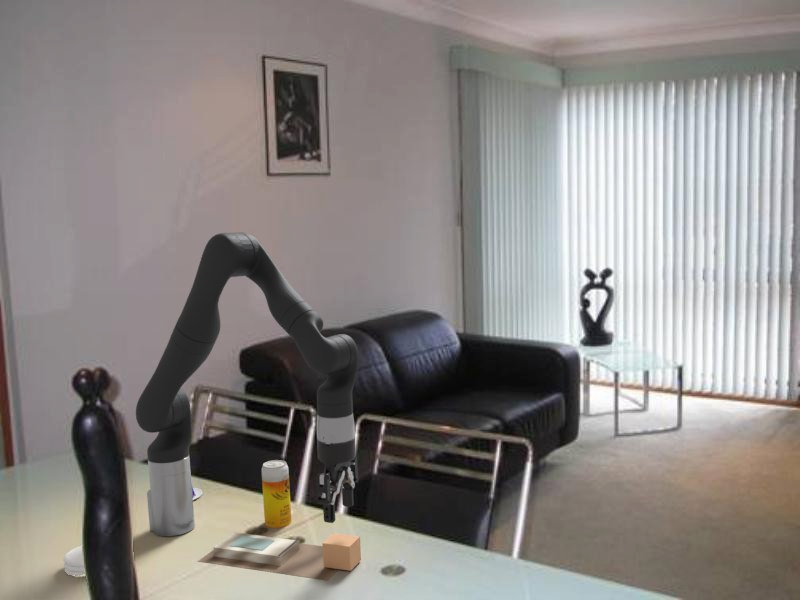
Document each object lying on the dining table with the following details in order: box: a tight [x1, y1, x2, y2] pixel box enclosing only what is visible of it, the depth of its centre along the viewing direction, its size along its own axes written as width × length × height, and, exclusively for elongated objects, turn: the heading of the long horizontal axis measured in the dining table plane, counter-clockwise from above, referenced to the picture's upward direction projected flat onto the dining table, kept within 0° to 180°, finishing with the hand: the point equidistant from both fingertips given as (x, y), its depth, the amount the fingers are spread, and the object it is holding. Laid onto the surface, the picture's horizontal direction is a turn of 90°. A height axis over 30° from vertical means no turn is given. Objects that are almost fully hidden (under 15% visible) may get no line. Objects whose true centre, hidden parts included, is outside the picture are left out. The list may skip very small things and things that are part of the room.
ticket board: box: [197, 532, 339, 581], centre depth 175 cm, size 30×14×3 cm, turn 68°
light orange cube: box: [321, 533, 362, 572], centre depth 169 cm, size 6×5×5 cm
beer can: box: [261, 459, 292, 529], centre depth 192 cm, size 6×6×15 cm
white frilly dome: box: [63, 545, 85, 576], centre depth 176 cm, size 10×10×4 cm
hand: (339, 513), depth 168 cm, fingers open, 8 cm apart
